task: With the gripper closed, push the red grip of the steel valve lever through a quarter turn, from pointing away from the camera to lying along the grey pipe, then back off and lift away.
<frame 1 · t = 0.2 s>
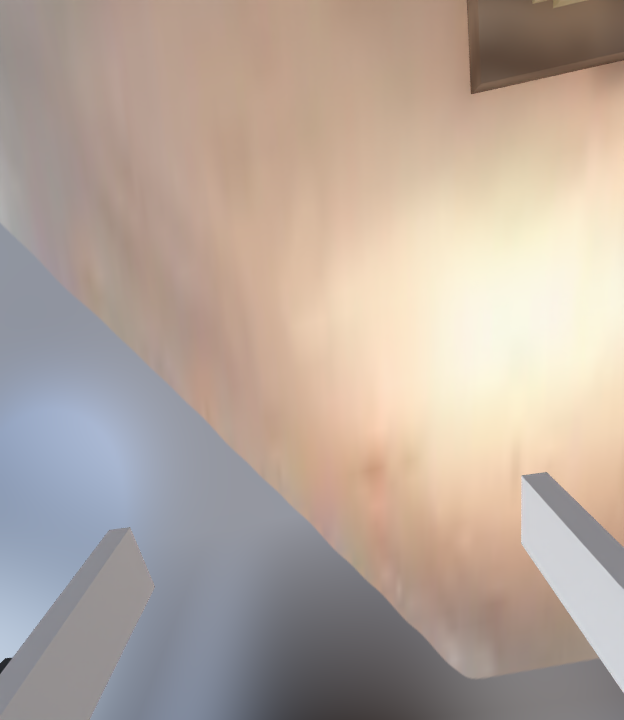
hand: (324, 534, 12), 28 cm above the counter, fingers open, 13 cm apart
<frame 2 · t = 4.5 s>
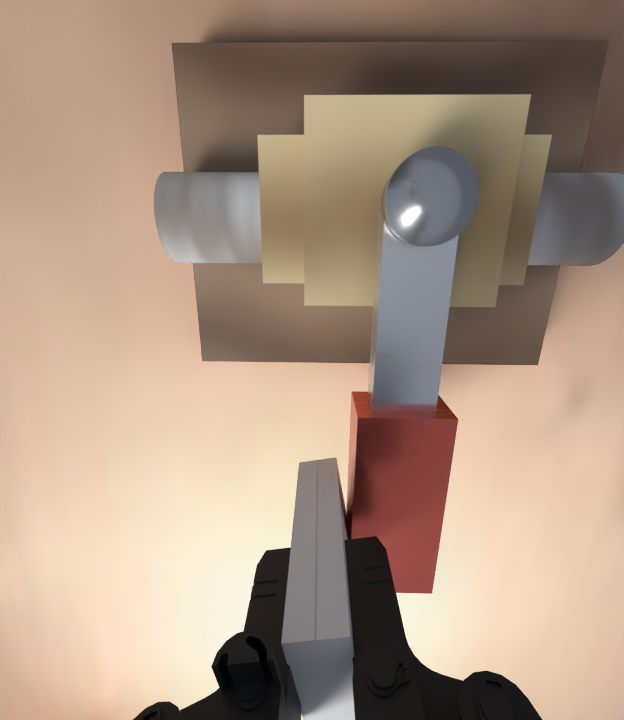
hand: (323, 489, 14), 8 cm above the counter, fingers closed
valve lever: (400, 403, 11), point 9 cm above the counter, hinge at 0.0°, touching gripper
valve board: (370, 226, 18), on the counter
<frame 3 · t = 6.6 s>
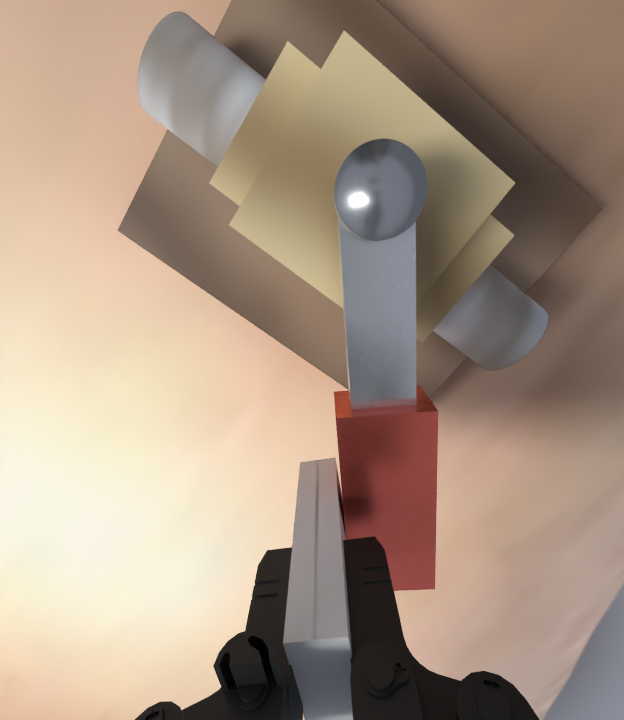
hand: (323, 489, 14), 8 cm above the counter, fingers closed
valve lever: (381, 399, 11), point 9 cm above the counter, hinge at 41.1°, touching gripper
valve board: (349, 222, 18), on the counter
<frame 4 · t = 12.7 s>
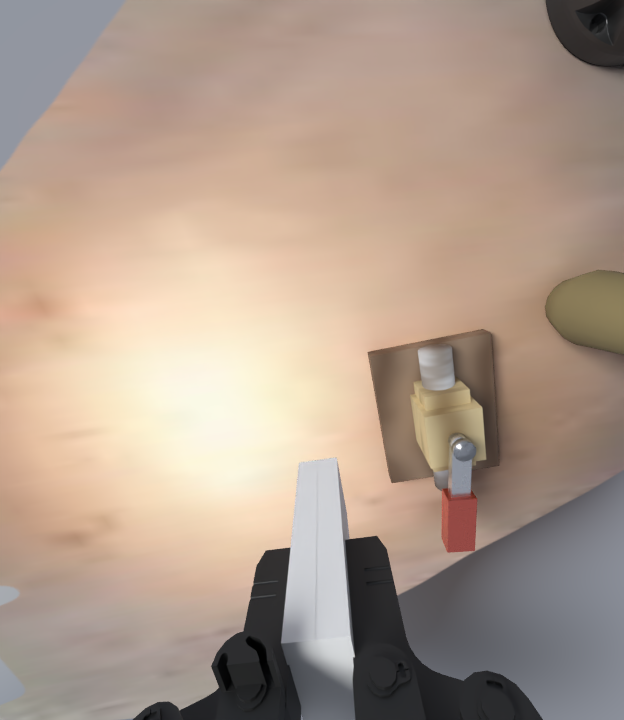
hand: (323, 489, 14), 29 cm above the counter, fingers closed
squeeze bottle: (568, 303, 40), on the counter
valve lever: (459, 493, 37), point 9 cm above the counter, hinge at 83.8°
valve board: (432, 406, 45), on the counter
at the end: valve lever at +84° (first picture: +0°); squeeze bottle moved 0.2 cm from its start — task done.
